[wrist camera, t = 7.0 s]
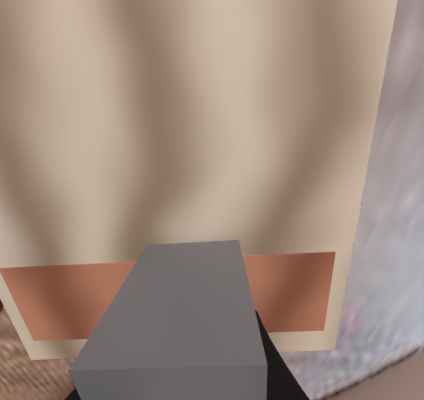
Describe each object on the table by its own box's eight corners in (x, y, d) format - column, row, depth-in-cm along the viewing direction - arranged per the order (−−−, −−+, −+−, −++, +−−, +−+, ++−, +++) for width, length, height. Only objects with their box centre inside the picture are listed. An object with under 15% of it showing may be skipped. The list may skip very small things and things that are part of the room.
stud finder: (167, 349, 13) (128, 523, 7) (147, 245, 11) (62, 379, 5) (242, 346, 13) (264, 523, 7) (238, 240, 10) (269, 373, 5)
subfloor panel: (32, 358, 14) (29, 360, 14) (-202, -104, 7) (-214, -111, 7) (333, 348, 14) (335, 351, 13) (427, -182, 6) (434, -192, 6)
